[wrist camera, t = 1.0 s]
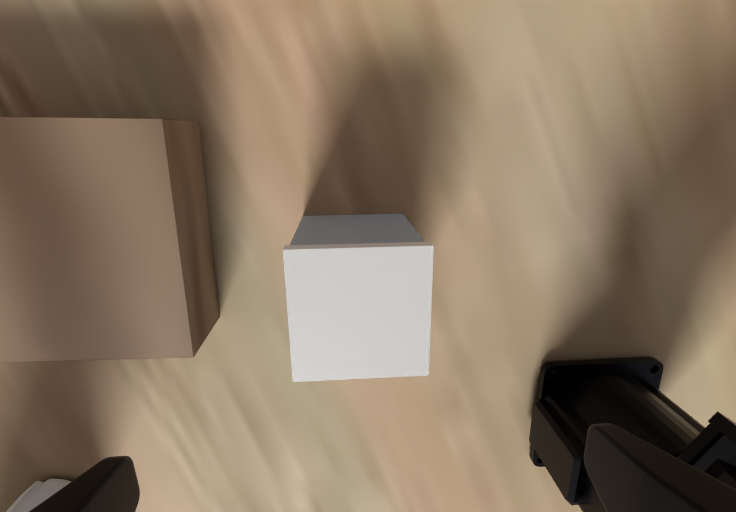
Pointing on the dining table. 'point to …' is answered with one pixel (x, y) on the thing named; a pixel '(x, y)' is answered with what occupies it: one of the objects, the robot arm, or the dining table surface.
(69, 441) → the dining table surface
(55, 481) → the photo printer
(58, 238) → the walnut block
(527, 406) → the dining table surface
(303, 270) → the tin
